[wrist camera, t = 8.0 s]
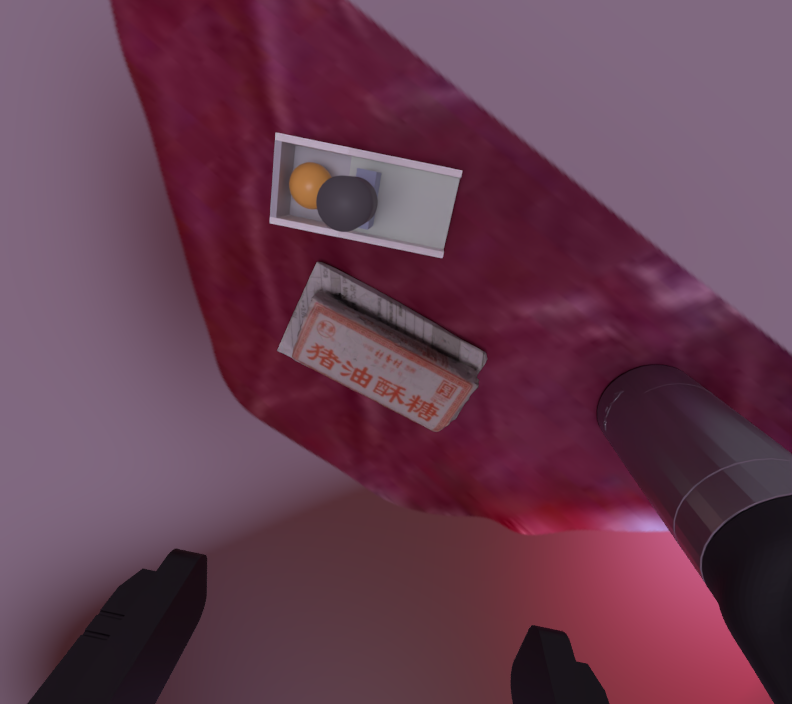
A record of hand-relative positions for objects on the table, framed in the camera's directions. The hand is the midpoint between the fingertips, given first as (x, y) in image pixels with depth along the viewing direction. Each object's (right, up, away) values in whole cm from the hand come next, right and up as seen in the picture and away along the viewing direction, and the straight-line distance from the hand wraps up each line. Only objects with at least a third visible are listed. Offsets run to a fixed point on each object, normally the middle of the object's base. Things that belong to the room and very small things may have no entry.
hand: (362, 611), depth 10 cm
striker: (-1, +18, +23) cm, 29 cm away
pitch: (+1, +19, +25) cm, 31 cm away
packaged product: (0, +7, +31) cm, 31 cm away
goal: (-6, +20, +25) cm, 33 cm away
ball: (-6, +20, +23) cm, 31 cm away
